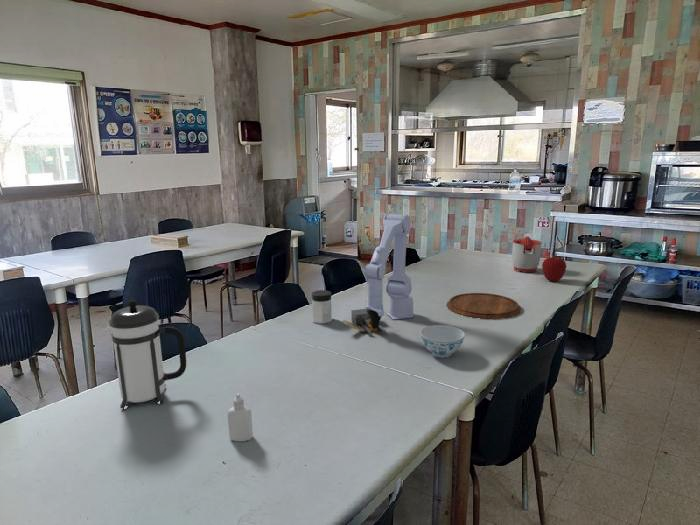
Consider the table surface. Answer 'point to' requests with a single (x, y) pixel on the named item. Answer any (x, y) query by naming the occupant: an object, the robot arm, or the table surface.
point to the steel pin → (368, 323)
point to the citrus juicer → (526, 254)
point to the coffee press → (141, 353)
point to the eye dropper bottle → (240, 421)
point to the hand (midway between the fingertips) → (375, 327)
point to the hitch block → (358, 320)
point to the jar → (321, 306)
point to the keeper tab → (354, 326)
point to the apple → (553, 268)
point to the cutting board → (483, 306)
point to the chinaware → (442, 339)
